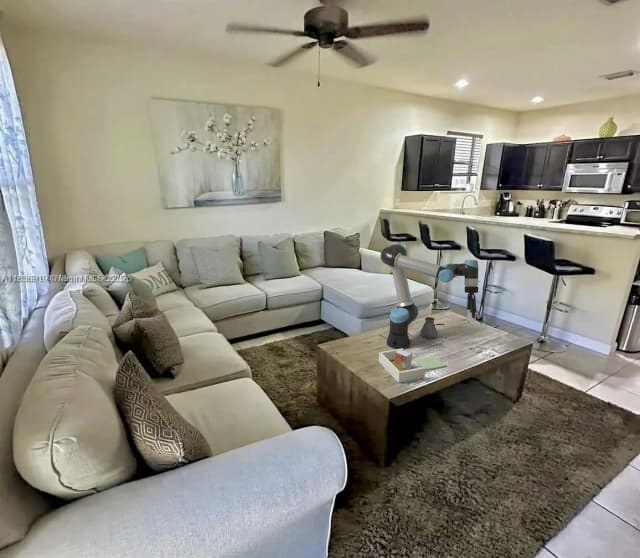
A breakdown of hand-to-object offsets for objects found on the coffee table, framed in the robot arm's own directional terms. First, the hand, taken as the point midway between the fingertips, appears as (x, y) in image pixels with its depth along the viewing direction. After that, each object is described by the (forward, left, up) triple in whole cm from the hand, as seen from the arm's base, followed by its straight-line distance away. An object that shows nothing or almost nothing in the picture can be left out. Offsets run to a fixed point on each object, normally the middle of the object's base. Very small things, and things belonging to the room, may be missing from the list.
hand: (471, 322), depth 209 cm
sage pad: (-1, -26, -23) cm, 35 cm away
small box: (-1, -44, -24) cm, 50 cm away
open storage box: (-1, -45, -23) cm, 51 cm away
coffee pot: (-29, -5, -24) cm, 37 cm away
